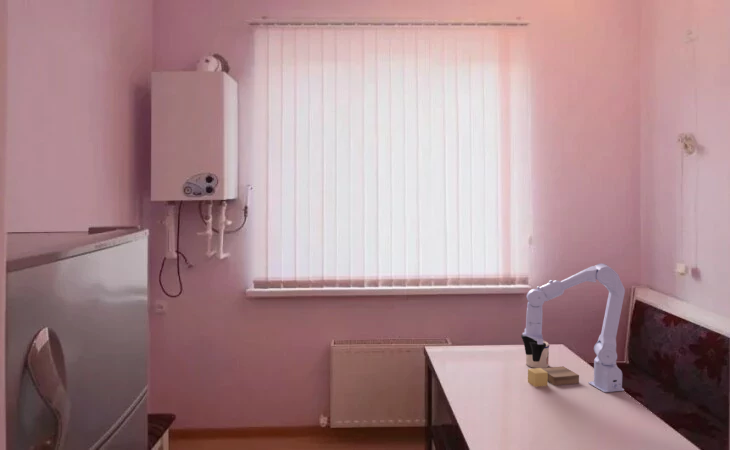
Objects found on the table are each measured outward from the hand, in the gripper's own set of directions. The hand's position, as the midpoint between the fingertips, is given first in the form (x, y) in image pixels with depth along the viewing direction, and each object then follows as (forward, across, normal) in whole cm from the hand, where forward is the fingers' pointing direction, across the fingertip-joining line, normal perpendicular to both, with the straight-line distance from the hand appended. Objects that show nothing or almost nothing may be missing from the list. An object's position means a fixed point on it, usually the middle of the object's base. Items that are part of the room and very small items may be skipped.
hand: (532, 357), depth 199 cm
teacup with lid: (+9, -19, +9) cm, 22 cm away
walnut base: (+8, -1, +11) cm, 14 cm away
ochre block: (+9, +3, +1) cm, 9 cm away
